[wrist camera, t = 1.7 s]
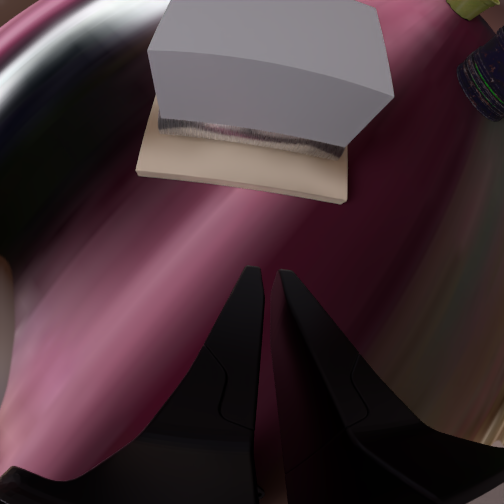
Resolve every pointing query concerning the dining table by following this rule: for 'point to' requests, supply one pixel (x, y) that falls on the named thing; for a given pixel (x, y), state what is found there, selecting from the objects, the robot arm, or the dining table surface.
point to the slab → (272, 66)
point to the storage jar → (485, 77)
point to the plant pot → (471, 7)
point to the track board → (240, 165)
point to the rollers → (249, 137)
